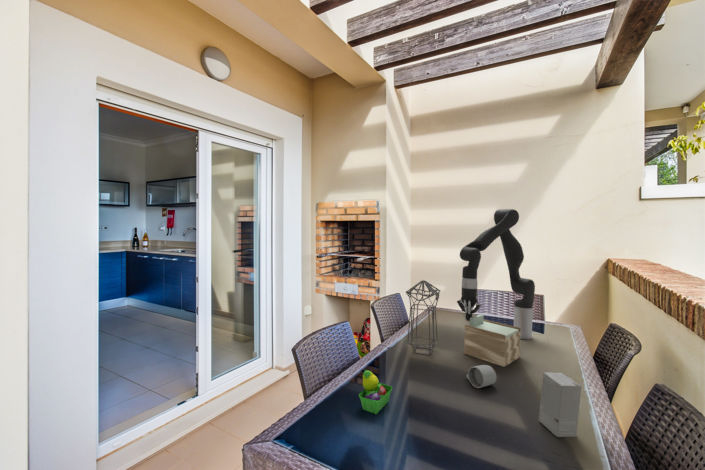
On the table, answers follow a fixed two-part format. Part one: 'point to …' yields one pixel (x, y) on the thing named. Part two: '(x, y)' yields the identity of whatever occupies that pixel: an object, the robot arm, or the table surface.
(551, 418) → the skincare box
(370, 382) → the fruit basket
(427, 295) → the geometric lantern
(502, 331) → the cover plate
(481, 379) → the ceramic mug
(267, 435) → the table surface
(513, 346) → the birch box
